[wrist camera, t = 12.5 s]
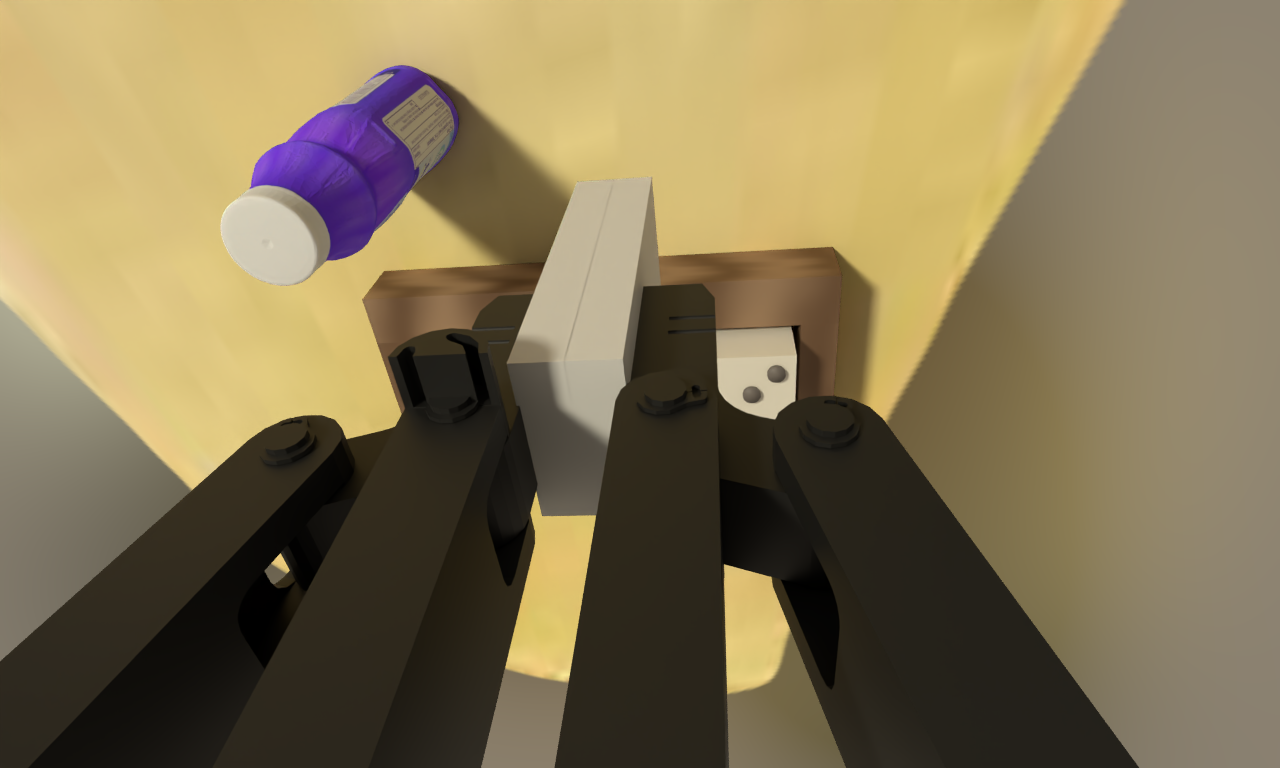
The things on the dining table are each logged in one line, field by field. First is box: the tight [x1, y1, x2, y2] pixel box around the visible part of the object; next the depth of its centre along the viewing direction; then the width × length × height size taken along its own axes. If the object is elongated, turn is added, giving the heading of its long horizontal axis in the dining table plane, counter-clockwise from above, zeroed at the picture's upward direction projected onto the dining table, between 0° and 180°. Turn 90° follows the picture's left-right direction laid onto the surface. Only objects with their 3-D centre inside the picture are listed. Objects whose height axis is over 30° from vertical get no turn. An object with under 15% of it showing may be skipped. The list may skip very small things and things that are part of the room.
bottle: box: [221, 65, 459, 286], centre depth 38 cm, size 7×6×17 cm
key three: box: [716, 326, 797, 419], centre depth 49 cm, size 5×6×6 cm
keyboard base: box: [362, 247, 842, 413], centre depth 51 cm, size 30×13×4 cm, turn 95°
